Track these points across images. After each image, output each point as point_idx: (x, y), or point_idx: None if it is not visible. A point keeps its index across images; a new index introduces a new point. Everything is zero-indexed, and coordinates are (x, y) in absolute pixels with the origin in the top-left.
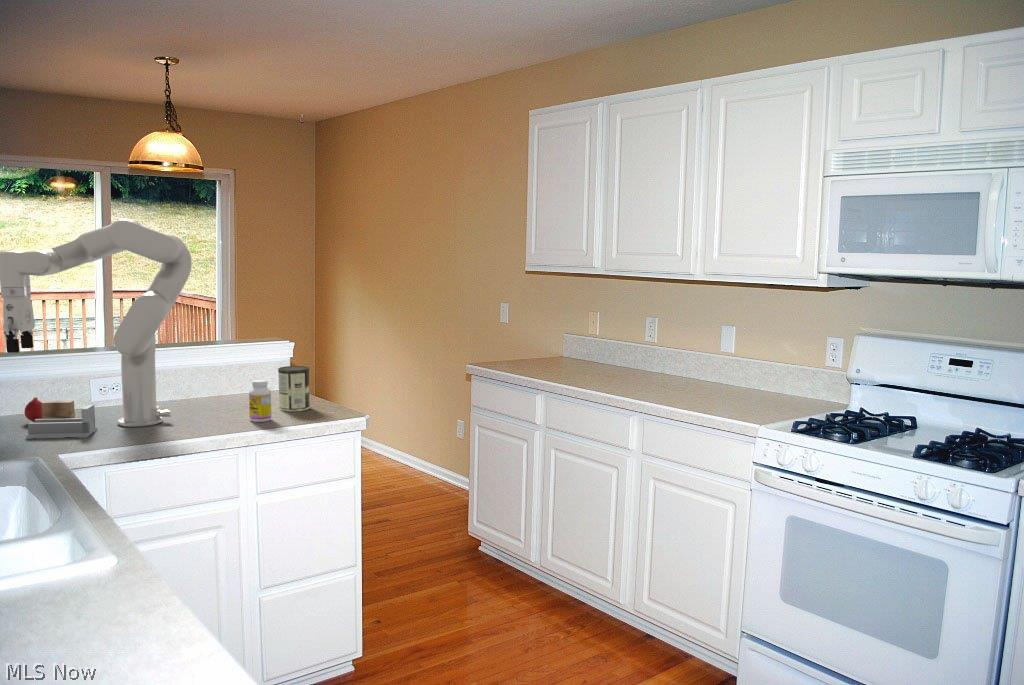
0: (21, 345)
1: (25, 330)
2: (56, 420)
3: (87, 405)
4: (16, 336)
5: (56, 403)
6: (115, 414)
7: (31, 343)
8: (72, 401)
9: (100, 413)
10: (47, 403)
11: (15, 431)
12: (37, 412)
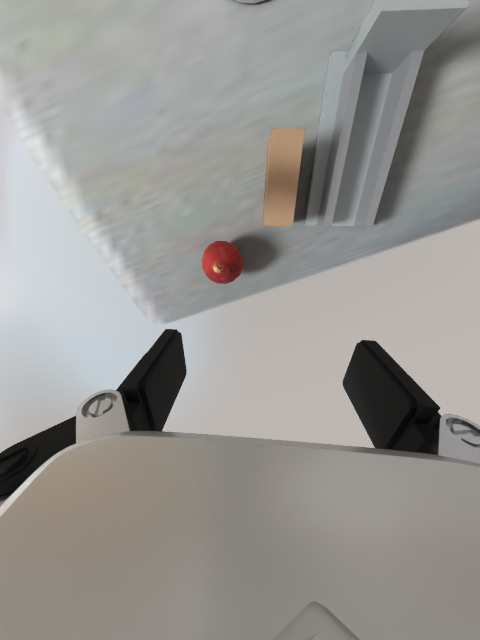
0: (182, 382)
1: (411, 456)
2: (342, 168)
3: (395, 9)
4: (457, 438)
5: (297, 180)
6: (136, 78)
7: (171, 346)
8: (285, 128)
9: (130, 137)
10: (294, 208)
11: (294, 270)
12: (239, 252)
